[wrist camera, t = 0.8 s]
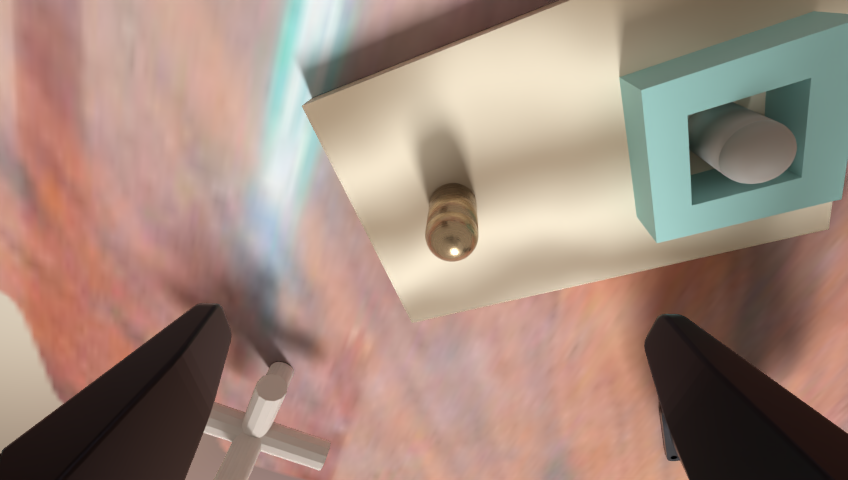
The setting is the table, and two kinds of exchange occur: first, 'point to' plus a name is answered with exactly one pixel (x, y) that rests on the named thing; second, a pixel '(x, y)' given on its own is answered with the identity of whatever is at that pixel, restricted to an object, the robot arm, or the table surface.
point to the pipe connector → (263, 430)
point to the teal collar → (730, 81)
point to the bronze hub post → (452, 222)
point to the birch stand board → (546, 148)
